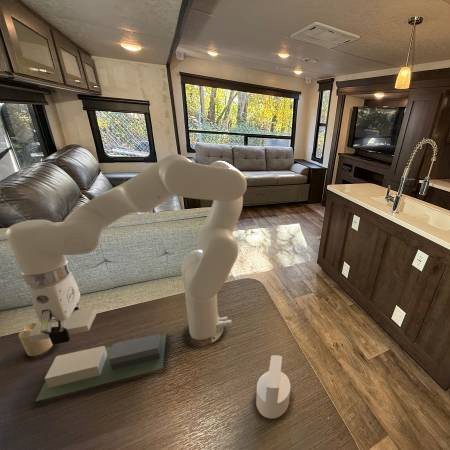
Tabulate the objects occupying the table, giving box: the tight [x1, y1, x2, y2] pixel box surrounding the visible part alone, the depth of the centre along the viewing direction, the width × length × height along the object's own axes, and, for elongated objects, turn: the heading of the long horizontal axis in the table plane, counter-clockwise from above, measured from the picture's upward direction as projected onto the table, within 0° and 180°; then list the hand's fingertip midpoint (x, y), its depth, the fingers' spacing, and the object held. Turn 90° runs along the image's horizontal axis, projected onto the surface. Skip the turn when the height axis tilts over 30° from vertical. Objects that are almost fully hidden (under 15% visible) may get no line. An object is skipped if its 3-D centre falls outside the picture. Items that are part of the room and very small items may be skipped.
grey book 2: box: [111, 340, 162, 370], centre depth 74 cm, size 12×6×2 cm, turn 113°
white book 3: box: [47, 351, 107, 388], centre depth 69 cm, size 11×7×2 cm, turn 113°
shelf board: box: [35, 334, 167, 403], centre depth 72 cm, size 28×13×2 cm, turn 113°
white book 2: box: [44, 345, 106, 383], centre depth 68 cm, size 11×7×2 cm, turn 113°
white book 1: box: [28, 306, 98, 342], centre depth 63 cm, size 11×7×2 cm, turn 113°
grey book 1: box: [109, 333, 161, 365], centre depth 73 cm, size 12×6×2 cm, turn 113°
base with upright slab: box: [255, 354, 291, 420], centre depth 65 cm, size 9×9×12 cm
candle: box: [18, 322, 54, 357], centre depth 73 cm, size 6×6×10 cm
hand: (67, 329), depth 64 cm, fingers closed on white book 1, 7 cm apart
